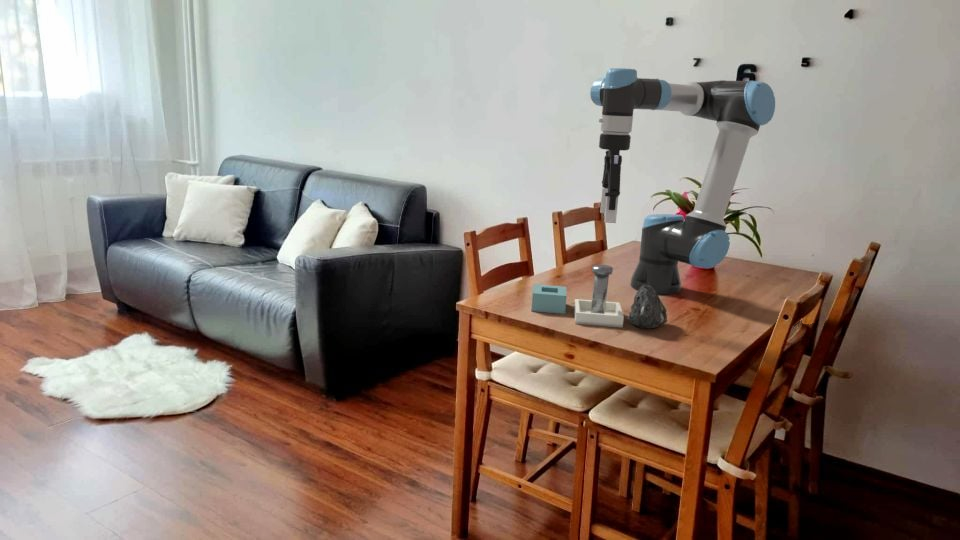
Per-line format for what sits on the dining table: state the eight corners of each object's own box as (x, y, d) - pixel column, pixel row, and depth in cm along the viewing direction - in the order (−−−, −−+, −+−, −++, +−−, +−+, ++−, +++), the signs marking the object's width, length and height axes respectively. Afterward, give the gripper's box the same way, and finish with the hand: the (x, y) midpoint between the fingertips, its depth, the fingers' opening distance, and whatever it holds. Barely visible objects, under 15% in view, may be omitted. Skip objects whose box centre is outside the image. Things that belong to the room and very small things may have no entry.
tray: (618, 313, 184) (619, 302, 183) (622, 327, 172) (623, 316, 171) (573, 309, 185) (574, 298, 184) (575, 323, 173) (576, 312, 172)
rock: (622, 305, 181) (639, 277, 176) (654, 316, 183) (672, 288, 177) (628, 335, 171) (647, 307, 166) (662, 346, 173) (681, 318, 167)
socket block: (564, 303, 189) (566, 286, 188) (565, 313, 180) (566, 295, 179) (532, 301, 190) (533, 284, 189) (531, 311, 181) (532, 293, 180)
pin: (606, 313, 180) (611, 265, 177) (608, 320, 175) (613, 270, 172) (587, 312, 181) (591, 263, 177) (588, 318, 176) (592, 268, 172)
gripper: (596, 129, 179) (589, 208, 185) (604, 135, 155) (596, 226, 161) (625, 131, 179) (617, 210, 184) (637, 137, 155) (628, 228, 160)
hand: (607, 217), depth 173 cm, fingers open, 13 cm apart
